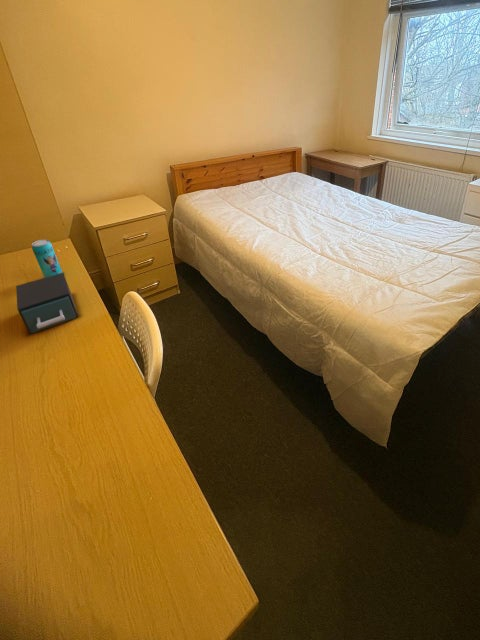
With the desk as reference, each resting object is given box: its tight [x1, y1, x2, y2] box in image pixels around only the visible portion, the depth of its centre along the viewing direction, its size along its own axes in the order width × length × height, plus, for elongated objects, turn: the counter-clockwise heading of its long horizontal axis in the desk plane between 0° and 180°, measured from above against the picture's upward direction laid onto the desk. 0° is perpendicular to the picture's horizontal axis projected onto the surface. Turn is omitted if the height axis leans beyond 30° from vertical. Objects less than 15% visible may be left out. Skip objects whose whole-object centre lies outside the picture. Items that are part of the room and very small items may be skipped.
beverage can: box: [31, 238, 63, 278], centre depth 119 cm, size 6×6×15 cm
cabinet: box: [15, 272, 79, 335], centre depth 102 cm, size 15×13×10 cm
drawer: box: [21, 296, 77, 334], centre depth 99 cm, size 18×11×8 cm, turn 39°
